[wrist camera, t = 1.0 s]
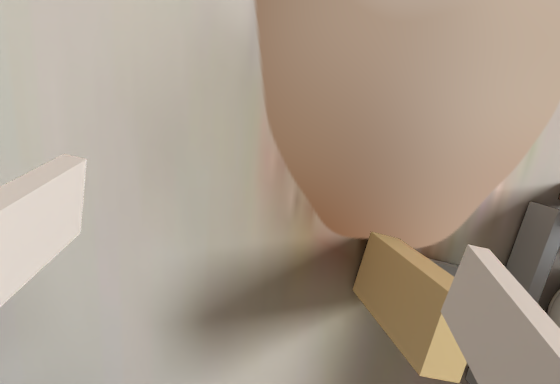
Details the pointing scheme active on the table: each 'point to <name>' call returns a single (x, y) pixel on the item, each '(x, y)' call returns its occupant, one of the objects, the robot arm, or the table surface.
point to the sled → (443, 291)
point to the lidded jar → (555, 308)
